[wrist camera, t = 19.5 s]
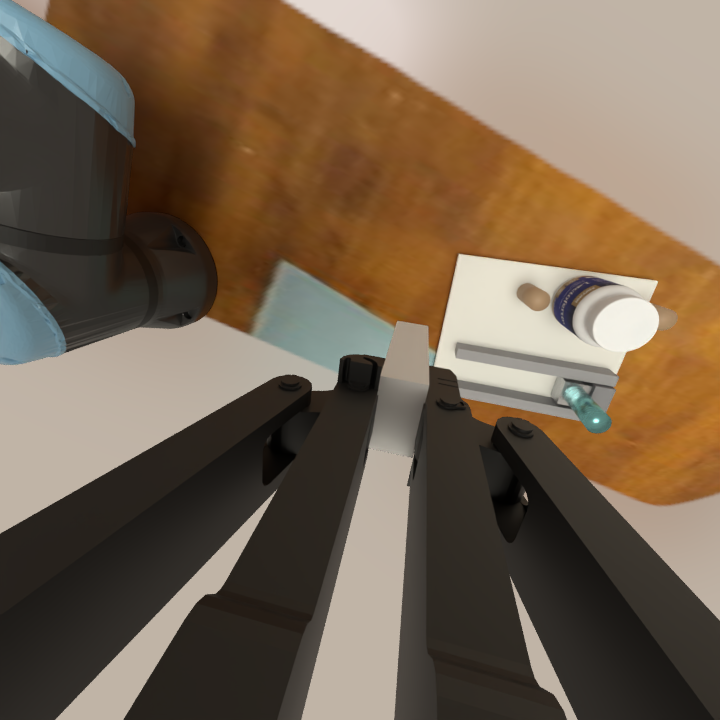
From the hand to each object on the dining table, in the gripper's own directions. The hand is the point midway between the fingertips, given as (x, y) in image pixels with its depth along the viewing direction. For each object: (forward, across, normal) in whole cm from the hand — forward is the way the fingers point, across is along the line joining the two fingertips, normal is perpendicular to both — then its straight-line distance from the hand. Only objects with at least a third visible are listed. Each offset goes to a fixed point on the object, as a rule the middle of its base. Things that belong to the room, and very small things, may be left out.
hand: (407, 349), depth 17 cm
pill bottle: (+24, +17, 0) cm, 30 cm away
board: (+25, +14, -5) cm, 29 cm away
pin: (+24, +20, -10) cm, 32 cm away
